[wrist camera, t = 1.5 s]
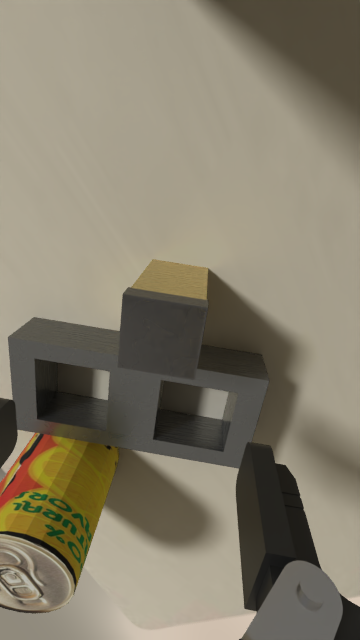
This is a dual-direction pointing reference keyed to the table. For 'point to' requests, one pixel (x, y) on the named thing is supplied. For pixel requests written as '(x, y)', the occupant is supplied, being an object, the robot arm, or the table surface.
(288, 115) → the table surface
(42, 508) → the beverage can
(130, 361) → the tan banded block
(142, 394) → the cinder block
